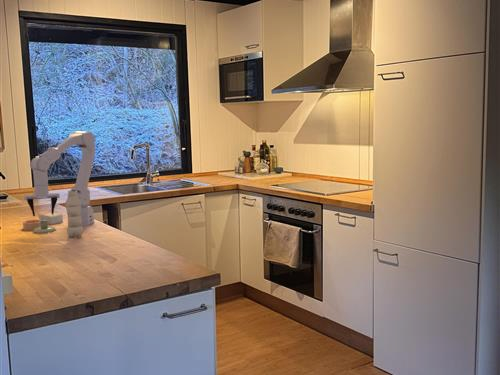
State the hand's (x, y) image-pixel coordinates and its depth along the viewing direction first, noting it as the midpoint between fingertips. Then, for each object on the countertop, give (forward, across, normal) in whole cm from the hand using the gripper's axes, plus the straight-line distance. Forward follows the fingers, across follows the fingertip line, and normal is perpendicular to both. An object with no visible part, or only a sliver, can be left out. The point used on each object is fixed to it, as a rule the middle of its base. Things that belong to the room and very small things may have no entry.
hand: (43, 215), depth 233 cm
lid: (+7, 0, 0) cm, 7 cm away
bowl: (+8, +4, -9) cm, 13 cm away
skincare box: (+6, -1, -26) cm, 27 cm away
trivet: (+8, 0, 0) cm, 8 cm away
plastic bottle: (+8, -12, +16) cm, 22 cm away
